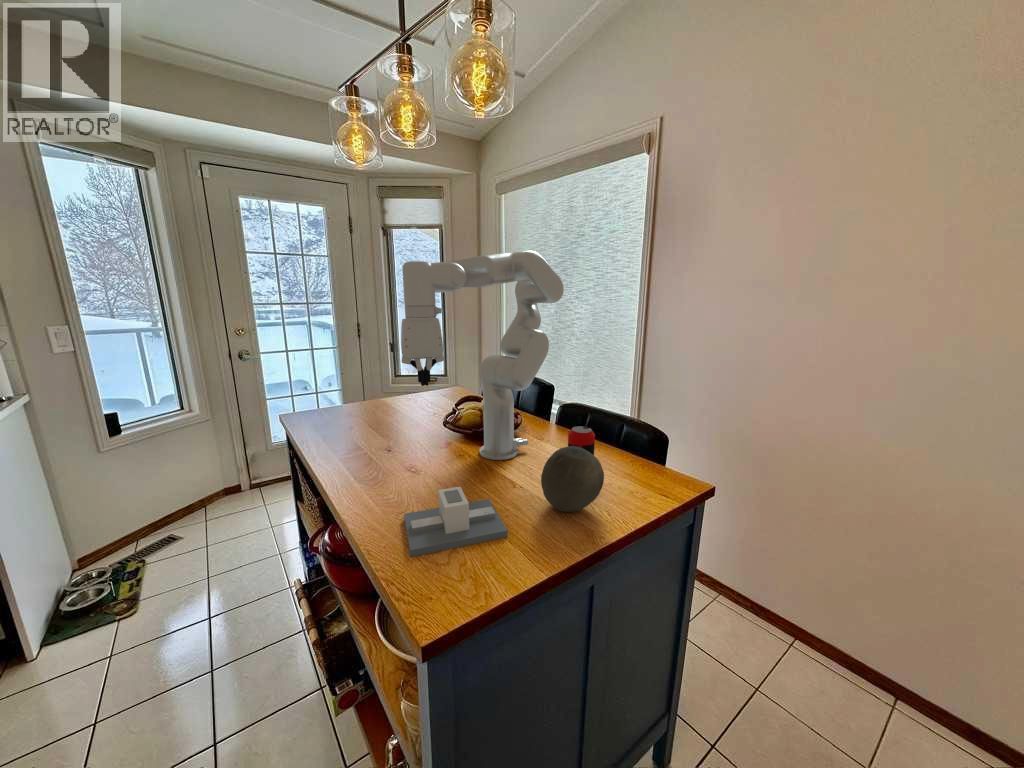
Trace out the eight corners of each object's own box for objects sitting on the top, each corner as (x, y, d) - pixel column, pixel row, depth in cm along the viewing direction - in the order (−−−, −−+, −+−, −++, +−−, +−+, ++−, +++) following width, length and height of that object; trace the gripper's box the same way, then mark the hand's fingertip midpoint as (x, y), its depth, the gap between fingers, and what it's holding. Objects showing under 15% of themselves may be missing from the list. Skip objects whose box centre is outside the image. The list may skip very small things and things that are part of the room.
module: (461, 510, 92) (460, 485, 91) (469, 529, 85) (468, 502, 83) (439, 514, 90) (438, 489, 89) (445, 534, 83) (444, 506, 82)
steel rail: (491, 511, 92) (491, 506, 92) (495, 517, 89) (495, 512, 89) (411, 525, 86) (410, 520, 86) (412, 533, 83) (412, 528, 83)
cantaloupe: (560, 530, 87) (562, 466, 84) (531, 500, 100) (531, 443, 96) (613, 516, 92) (617, 455, 89) (579, 489, 105) (581, 435, 102)
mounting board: (489, 504, 98) (489, 498, 97) (507, 536, 85) (507, 530, 84) (404, 519, 91) (404, 513, 91) (410, 557, 78) (410, 550, 78)
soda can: (598, 468, 118) (600, 429, 115) (584, 476, 112) (585, 436, 110) (576, 460, 123) (578, 423, 120) (562, 468, 117) (563, 429, 115)
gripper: (447, 311, 106) (450, 379, 110) (388, 313, 101) (393, 384, 105) (453, 313, 99) (455, 385, 103) (390, 314, 94) (395, 390, 98)
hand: (424, 384), depth 104 cm, fingers closed
